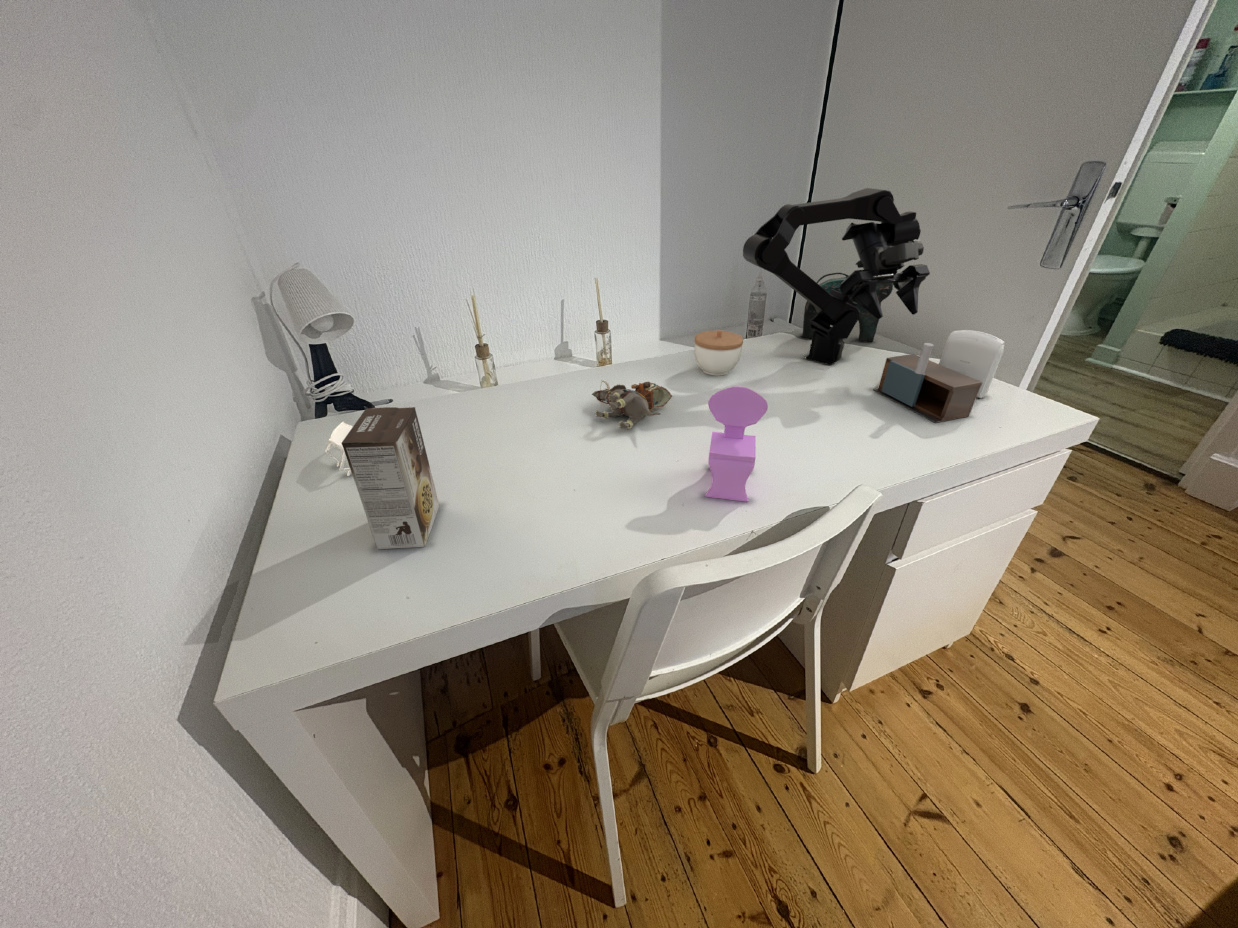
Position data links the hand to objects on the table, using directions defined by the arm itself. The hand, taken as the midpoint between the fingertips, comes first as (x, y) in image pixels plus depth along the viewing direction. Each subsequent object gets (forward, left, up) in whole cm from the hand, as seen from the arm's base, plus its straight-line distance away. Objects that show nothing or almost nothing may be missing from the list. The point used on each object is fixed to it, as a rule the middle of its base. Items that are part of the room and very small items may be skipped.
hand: (898, 315), depth 107 cm
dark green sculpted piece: (-17, +20, -14) cm, 30 cm away
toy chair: (-4, -59, -14) cm, 61 cm away
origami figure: (-56, -92, -14) cm, 109 cm away
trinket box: (-30, -20, -14) cm, 39 cm away
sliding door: (+7, -11, -13) cm, 18 cm away
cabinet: (+10, -9, -14) cm, 19 cm away
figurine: (-31, -48, -14) cm, 59 cm away
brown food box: (-32, -96, -14) cm, 102 cm away
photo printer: (+15, +3, -14) cm, 20 cm away
